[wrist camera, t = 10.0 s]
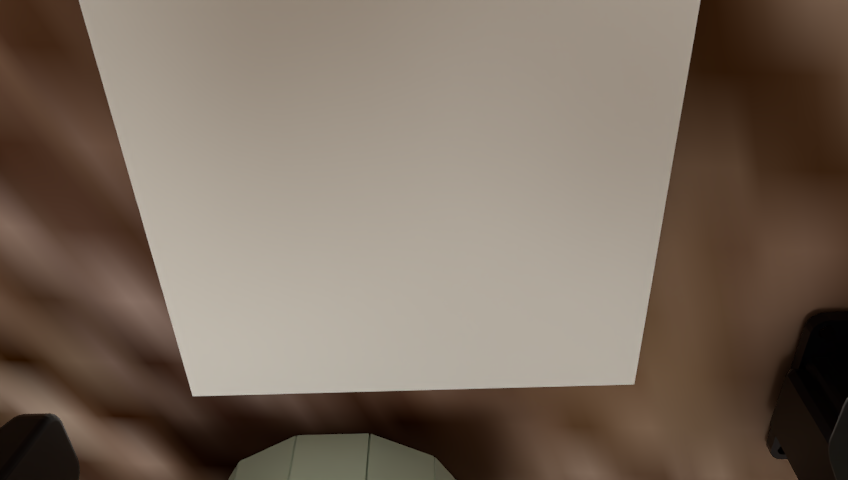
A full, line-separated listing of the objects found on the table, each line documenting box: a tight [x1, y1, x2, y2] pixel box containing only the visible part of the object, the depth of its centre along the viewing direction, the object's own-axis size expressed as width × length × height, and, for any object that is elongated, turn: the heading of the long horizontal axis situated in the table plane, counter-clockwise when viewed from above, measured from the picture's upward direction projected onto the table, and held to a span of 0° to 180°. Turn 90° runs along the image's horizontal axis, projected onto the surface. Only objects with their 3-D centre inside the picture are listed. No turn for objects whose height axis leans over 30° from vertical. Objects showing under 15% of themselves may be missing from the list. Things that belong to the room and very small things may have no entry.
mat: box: [79, 0, 701, 396], centre depth 21 cm, size 15×15×1 cm
